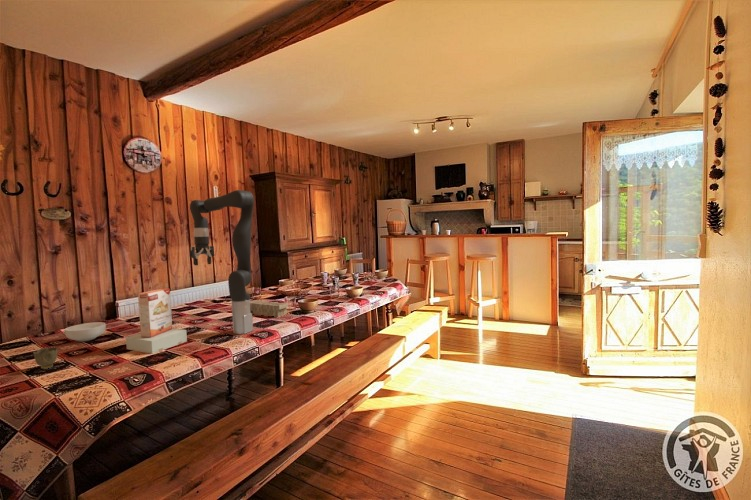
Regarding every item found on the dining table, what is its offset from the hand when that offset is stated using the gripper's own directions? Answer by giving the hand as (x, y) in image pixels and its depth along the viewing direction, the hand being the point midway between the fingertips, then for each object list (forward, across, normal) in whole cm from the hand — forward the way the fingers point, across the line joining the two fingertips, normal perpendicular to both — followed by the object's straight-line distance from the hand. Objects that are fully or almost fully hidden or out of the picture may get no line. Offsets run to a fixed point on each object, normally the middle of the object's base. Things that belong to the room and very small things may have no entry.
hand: (202, 264), depth 204 cm
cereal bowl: (+36, -39, +41) cm, 67 cm away
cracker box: (+31, -31, -5) cm, 44 cm away
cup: (+38, -68, +11) cm, 78 cm away
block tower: (+35, +35, -13) cm, 51 cm away
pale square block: (+37, -31, -5) cm, 48 cm away
